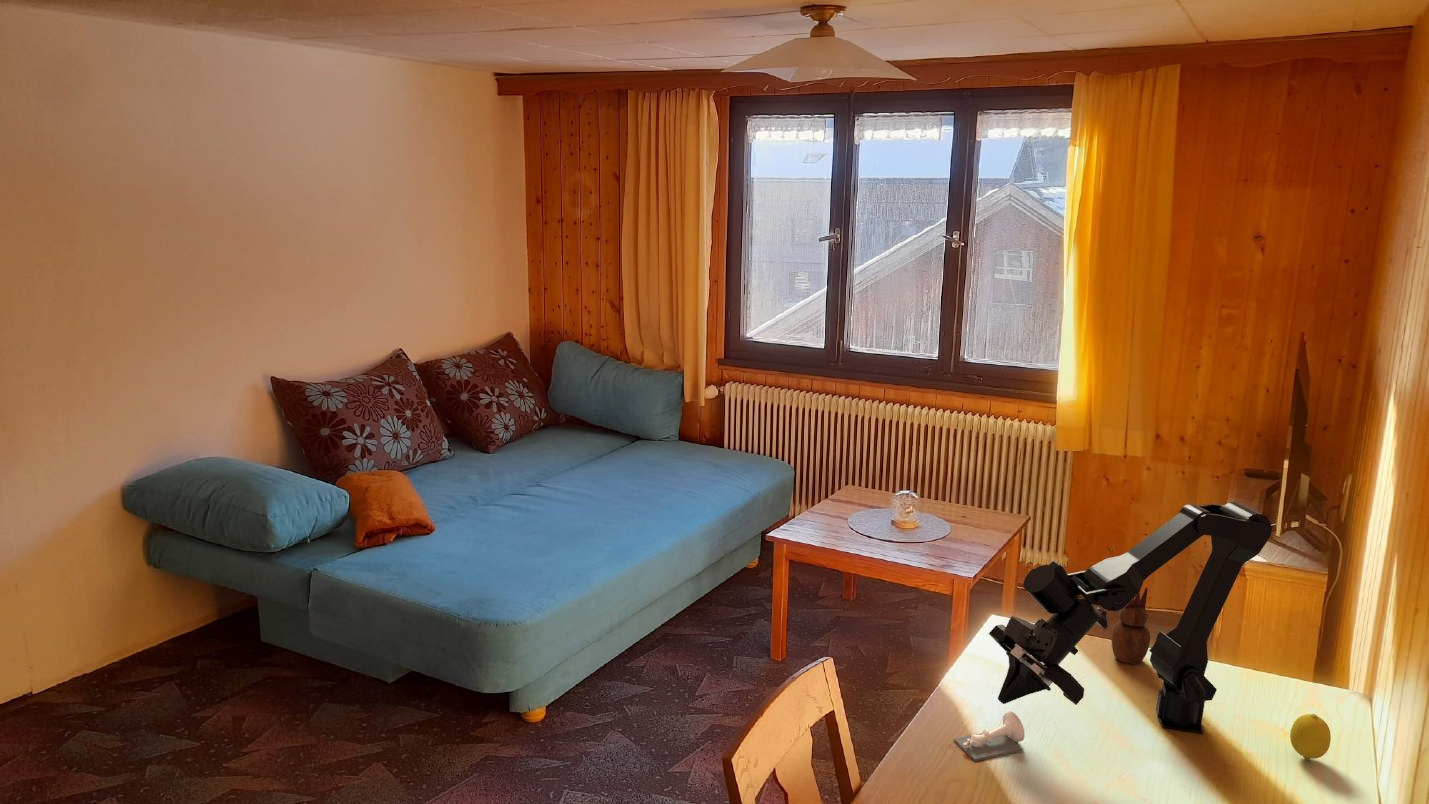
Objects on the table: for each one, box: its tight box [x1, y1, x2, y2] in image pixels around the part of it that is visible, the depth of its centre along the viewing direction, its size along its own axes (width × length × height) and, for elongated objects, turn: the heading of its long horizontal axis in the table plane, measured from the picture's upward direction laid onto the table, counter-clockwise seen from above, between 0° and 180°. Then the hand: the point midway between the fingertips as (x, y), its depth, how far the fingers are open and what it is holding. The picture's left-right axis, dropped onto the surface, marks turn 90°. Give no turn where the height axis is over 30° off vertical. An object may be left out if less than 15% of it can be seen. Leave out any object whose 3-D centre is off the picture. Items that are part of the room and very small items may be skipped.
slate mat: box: [953, 730, 1023, 762], centre depth 164 cm, size 9×6×1 cm, turn 109°
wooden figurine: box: [1110, 587, 1151, 665], centre depth 192 cm, size 7×6×15 cm
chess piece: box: [963, 711, 1026, 748], centre depth 164 cm, size 5×5×10 cm
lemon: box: [1289, 713, 1332, 761], centre depth 161 cm, size 6×6×8 cm
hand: (1000, 701), depth 163 cm, fingers closed
